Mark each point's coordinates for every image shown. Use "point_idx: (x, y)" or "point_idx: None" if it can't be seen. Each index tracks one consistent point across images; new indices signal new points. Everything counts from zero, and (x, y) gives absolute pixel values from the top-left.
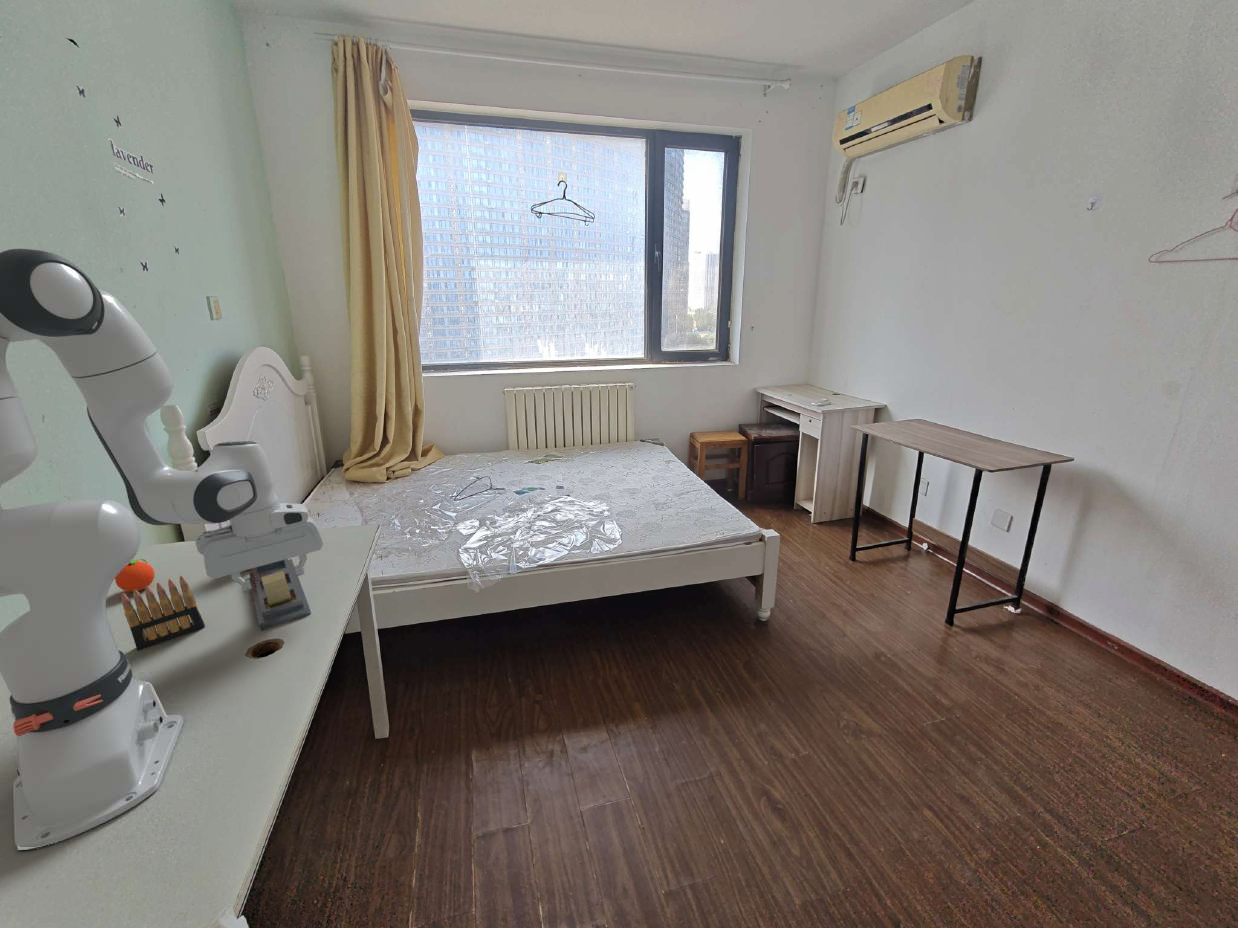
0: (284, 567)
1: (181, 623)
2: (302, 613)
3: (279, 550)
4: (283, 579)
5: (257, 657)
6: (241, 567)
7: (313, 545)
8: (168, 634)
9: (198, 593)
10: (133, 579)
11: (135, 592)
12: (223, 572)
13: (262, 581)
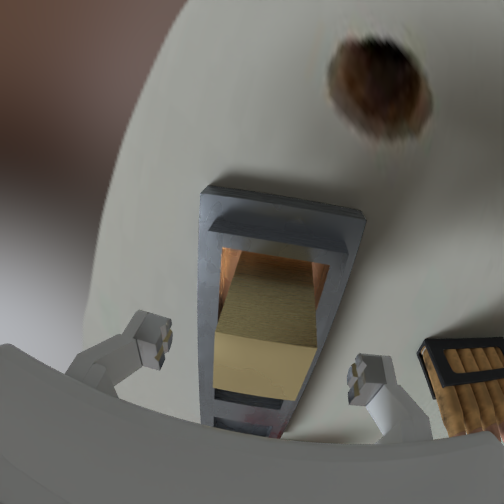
0: (218, 421)
1: (460, 360)
2: (230, 192)
3: (151, 482)
4: (226, 331)
5: (411, 59)
6: (403, 463)
7: (2, 375)
8: (476, 346)
9: (358, 435)
10: None
11: None
12: (468, 451)
13: (305, 374)
